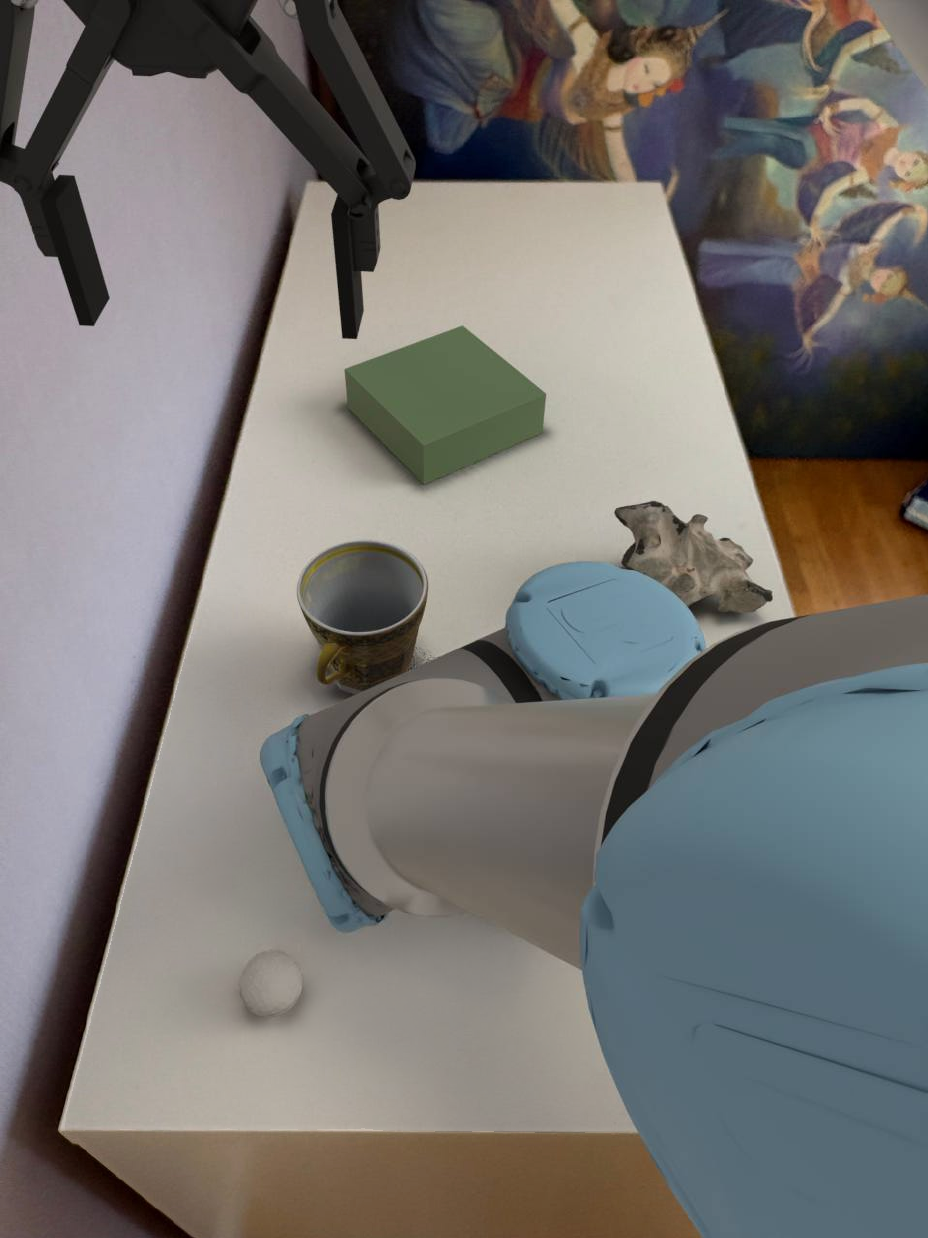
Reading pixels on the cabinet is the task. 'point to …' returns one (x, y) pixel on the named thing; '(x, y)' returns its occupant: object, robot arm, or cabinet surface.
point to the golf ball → (270, 983)
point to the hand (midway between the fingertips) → (223, 318)
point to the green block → (444, 403)
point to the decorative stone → (689, 558)
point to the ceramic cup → (363, 611)
